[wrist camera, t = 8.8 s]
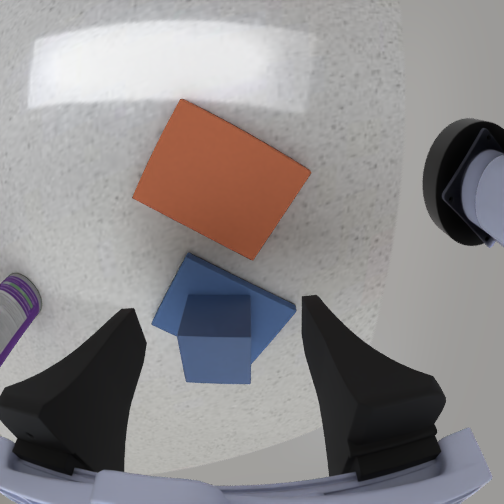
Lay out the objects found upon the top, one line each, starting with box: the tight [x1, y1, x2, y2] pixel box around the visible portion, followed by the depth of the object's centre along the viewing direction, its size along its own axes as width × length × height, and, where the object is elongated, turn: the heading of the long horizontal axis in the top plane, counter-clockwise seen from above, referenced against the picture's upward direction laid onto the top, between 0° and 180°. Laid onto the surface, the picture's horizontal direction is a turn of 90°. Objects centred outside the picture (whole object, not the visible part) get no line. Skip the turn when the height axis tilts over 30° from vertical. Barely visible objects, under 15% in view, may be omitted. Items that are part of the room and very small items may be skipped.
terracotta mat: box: [132, 99, 311, 260], centre depth 19 cm, size 9×7×1 cm
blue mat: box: [152, 252, 296, 364], centre depth 24 cm, size 9×7×1 cm
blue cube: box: [177, 295, 251, 384], centre depth 21 cm, size 4×4×4 cm
